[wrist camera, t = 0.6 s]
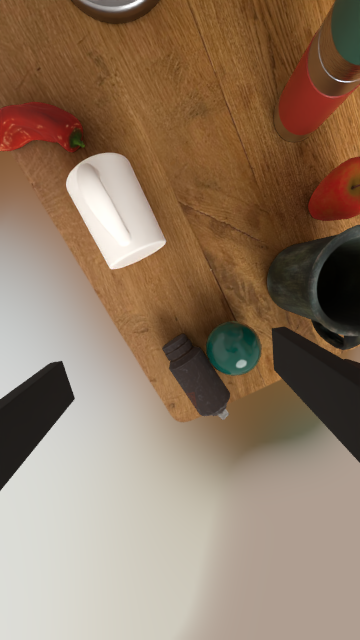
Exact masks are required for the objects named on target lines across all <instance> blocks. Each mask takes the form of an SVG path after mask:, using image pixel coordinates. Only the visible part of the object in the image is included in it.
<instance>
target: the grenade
mask: <svg viewBox="0 0 360 640" xmlns="http://www.w3.org/2000/svg"><path fill="white" fill-rule="evenodd" d="M162 349H163V351H164V352H165V353H166V354H165V355H166V356H167V358H168V359H169V361H170V360H171V361H170V367H169V369H170V371H171V372H172V374H173V375H174V377H175V378H176V380H177V381H178V383H179V384H180V386H181V387H182V389H183V390H184V392H185V393H186V395H187V396H188V398H189V399H190V400H191V402H192V403H193V405H194V406H195V408H196V409H197V411H198V412H199V414H200V415H202V416H209V415H213V416H216V415H218V416H219V417H220V418H221V419H223V420H224V419H225V418H226V417H227V416H228V415H229V413H228V412H227V410H226V409H225V408H226V404H227V402H228V400H229V398H230V393H229V391H228V389H227V388H226V386H225V385H224V383H223V382H222V380H221V379H220V377H219V376H218V374H217V373H216V371H215V370H214V368H213V366H212V365H211V363H210V362H209V360H208V359H207V357H206V356H205V354H204V353H203V351H202V350H201V348H199V347H195V346H192V343H191V341H190V340H189V339H187V337H186V335H185V334H181V335H179V336H177V337H175V338H174V339H172V340H171V341H169V342H168V343H167V344H166V345H164V346H163V348H162Z"/></svg>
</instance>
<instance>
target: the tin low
mask: <svg viewBox="0 0 360 640" xmlns="http://www.w3.org/2000/svg"><path fill="white" fill-rule="evenodd" d="M324 20H325V19H324ZM323 22H324V21H323ZM322 25H323V23H322ZM322 25H321V26H320V28H319V29H318V31H317V32H316V33H315V35H314V37H313V39H312V40H311V42H310V44H309V46H308V47H307V49H306V51H305V53H304V54H303V56H302V58H301V60H300V61H299V63H298V65H297V67H296V68H295V70H294V72H293V74H292V75H291V77H290V79H289V81H288V82H287V84H286V86H285V88H284V90H283V91H282V94H281V96H280V98H279V100H278V101H277V104H276V106H275V110H274V125H275V129H276V131H277V133H278V134H279V135H280V136H281V137H282V138H283V139H284V140H286V141H289V142H299V141H302V140H304V139H306V138H307V137H309V136H310V135H311V134H312V133H313V132H314V131H315V130H316V129H317V128H318V127H319V126H320V125H321V124H322V123H323V122H324V121H325V120H326V119H327V118H328V117H329V116H330V115H331V114H332V113H333V112H334V111H335V110H336V109H337V108H338V107H339V106H340V105H341V104H342V103H343V101H344V100H345V99H346V98H347V97H348V96H349V95H350V94H351V93H352V92H353V91H354V90H355V89H356V88H357V87H358V86H359V85H360V79H358V80H355V81H340V80H337V79H335V78H334V77H332V76H331V75H330V74H329V73H328V72H327V71H326V69H325V68H324V66H323V64H322V61H321V58H320V53H319V39H320V33H321V28H322Z"/></svg>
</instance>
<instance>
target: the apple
mask: <svg viewBox="0 0 360 640" xmlns="http://www.w3.org/2000/svg"><path fill="white" fill-rule="evenodd" d="M308 209H309V212H310V214H311V216H312V217H313V218H315V219H318V220H323V221H332V220H341V219H349V218H351V217H354V216H357V215H359V214H360V157H355V158H350V159H349V160H347V161H345V162H344V163H342V164H340V165H339V166H338V167H336V168H335V169H334V170H332V171H331V172H330V173H329V174H328V175H327V176H326V177H325V178H324V179H323V180H322V182H321V183H320V184H319V185H318V187H317V188H316V189H315V191H314V192H313V194H312V196H311V198H310V201H309V204H308Z"/></svg>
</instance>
